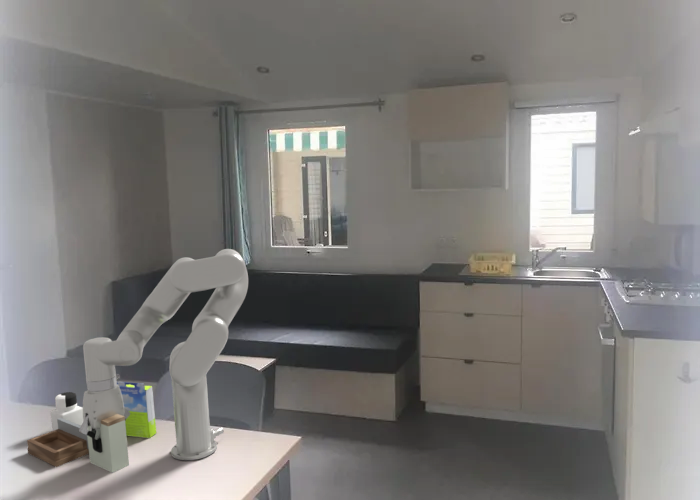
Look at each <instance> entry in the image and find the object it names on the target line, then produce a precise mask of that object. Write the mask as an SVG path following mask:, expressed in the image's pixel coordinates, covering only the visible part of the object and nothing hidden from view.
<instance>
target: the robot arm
mask: <svg viewBox="0 0 700 500" xmlns="http://www.w3.org/2000/svg"><path fill="white" fill-rule="evenodd" d="M246 266H247V265H246V262H245V260H244V259H243V257H242V255H241V254H240V253H239V252H238V251H237V250H235V249H233V248H232V249H231V248H225V249H221V250H220V251H218V252H217V253H216V254H215V256H209V257H204V258H199V259H193V258H192V257H188V256H187V257H181V258H178V259H177V260H176V261H174V263H173V264H172V265H171V267H170V268H169V269H168V270H167V272H166V273H165V274H164V275H163V277H162V278H161V279H160V281H159V282H158V283H157V285H156V286H155V288H154V289H153V290H152V292H151V293H150V294H149V295H148V296H147V297H146V299H145V301H143V303H142V305H141V306H140V308H139V309H138V311H137V312H136V313H135V314H134V315H133V317H132V318H131V319H130V320H129V322H128V323H127V324H126V326H125V327H124V328H123V330H122V331H121V332H120V333H119V335H118V337H117V339H116V340H113V339H111V338H109V337H102V336H101V337H95V338H90V339H87V340H86V341H84V344H83V345H82V349H83V360H84V370H85V381H86V382H85V383H86V390H85V391H83V398H82V408H83V423H82V425H81V427H80V429H79V432H81V433H83V434H86V435H88V436H89V437H91V438H92V444H93V449H94V450H95V451H96V452H99V453H101V452H102V442H101V438H99V435H100V427H101V420H103V419H106V418H109V417H111V416H114V415H116V414H119V415H122V416H125V421H126V419H127V418H128V416H129V415H130V412H129V411H128V410H127V409H125V408H124V403H123V398H122V394H121V390H120V387H119V385H118V384H117V381H118V380H120V379H121V375H120V374H119V373H116V372H117V371H116V367H117V366H118V367H119V366H120V367H121V366H122V367H129V366H133V365H136V364H137V363H138V362H139V361H140V360H141V359H142V356H143V351H144V347H146V345H147V343H148V342H149V341H150V339H151V338H152V337H153V335H154V334H155V333H156V332H157V330H159V328H160V327H161V325H162V324H164V323H166V322H167V321H168V320H171V319H172V318H173V316H175V314H176V313H177V311H178V310H179V309H180V308H181V306H182V305H183V303H184V302H185V301H186V300H187V299H188V297H189V296H190V294H191V293H196V292H202V291H207V290H212V289H214V291H213V293H212V294H211V296H210V297H209V299H208V300H207V302H206V304H205V305H204V307H203V308H202V309H201V311H200V312H199V313H198V315H197V316H196V317H195V318H194V320H193V323H192V326H191V332H190V334H189V335H188V337H187V339H186V340H185V341H182V342H180V343H178V344H177V345H175V346H174V348H172V351H171V353H170V356H169V368H168V369H169V375H170V377H171V392H172V402H173V403H172V404H173V406H172V407H173V415H174V416H173V417H174V418H173V419H174V428H175V431H174V432H175V439H176V440H175V442H176V443H175V444H174V445H173V446H172V448H171V450H170V451H171V452H170V453H171V456H172V457H173V458H174V459H175V460H176V459H177V460H180V461H195V460H199V459H203V458H206V457H208V456H210V455H212V454H214V452H216V450H217V449H218V445H217V442H216V440H215V438H216V437H217V436H221V435H222V434H224V428H223V427H218V428H216V429H214V427H211V423H210V422H211V421H210V410H209V398H208V397H209V396H208V384H207V383H208V382H207V381H208V380H207V373H208V372H209V371H210V369H211V368H212V367H213V365H214V363H215V362H216V360H217V359H218V358H219V356H220V355H221V353H222V352H223V350H224V348H225V346H226V344H227V342H228V339H229V326H230V324H231V322H232V321H233V319H234V317H235V316H236V315H237V313H238V311H239V310H240V309H241V306H242V304H243V303H244V301H245V299H246V296H247V293H248V289H249V275H248V269H247V267H246ZM90 425H91V430H90V431H89V430H87V428H88V426H90Z"/></svg>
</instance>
